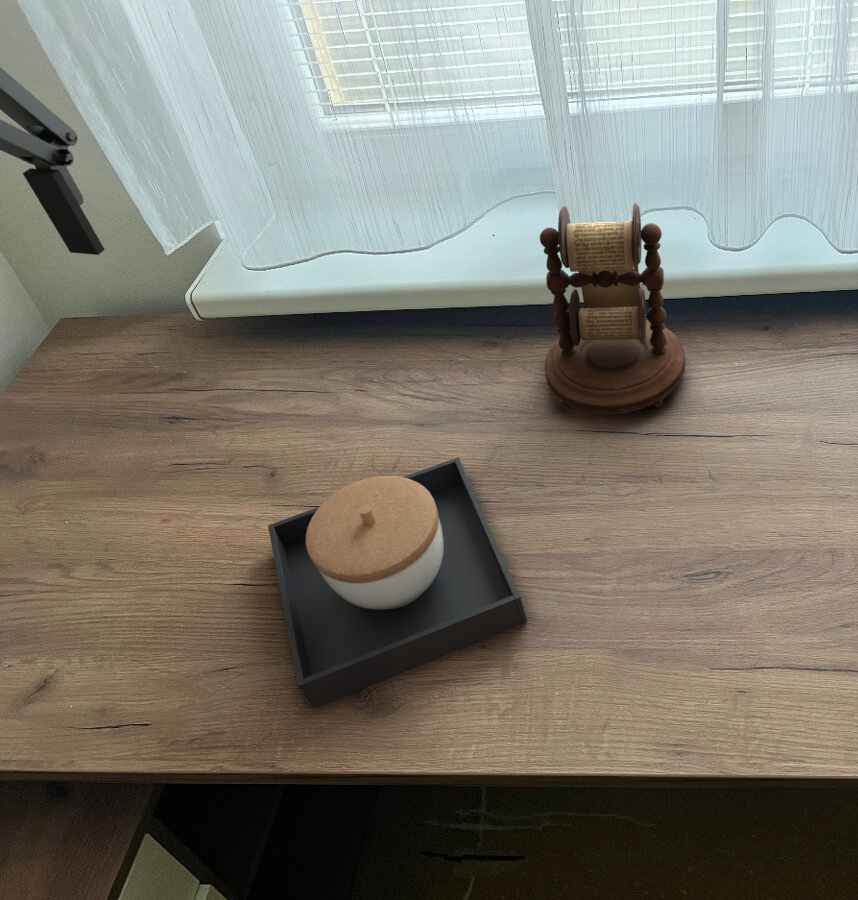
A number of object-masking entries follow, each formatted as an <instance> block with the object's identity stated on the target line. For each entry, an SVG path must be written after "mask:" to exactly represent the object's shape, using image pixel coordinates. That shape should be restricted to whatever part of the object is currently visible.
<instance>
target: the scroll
mask: <svg viewBox="0 0 858 900" xmlns="http://www.w3.org/2000/svg"><path fill="white" fill-rule="evenodd" d="M631 214H632V215H631V216H632V217H631V220H623V221H622V220H621V221H600V222H599V221H597V222H596V221H595V222H577V223H576V222H575V223H573V222H572V223H571V218H570V217H571V216H570V213H569V210H568V207H567V206H565V205H563V206H562V208H560V210H559V213H558V219H557V221H558V222H557V229H556V228H554V227H546V228H544V229H543V230H542V231H541V232H540V234H539V242H540V244H541V246H542V247H543V253H544V254H545V255H547V256H546V269H547V271H548V272H547V273H546V278H545V279H546V280H545V281H546V288H547V289H548V290H549V291H550V292H551V294H552V295H553V303H552V306H553V309H554V310H555V312H554V313H553V316H552V317H553V318H552V319H553V323H554V325H556V327H557V328H556V331H557V333H558V334H560V335H559V338H558V339H557V340H556V341H555V342H554V343H553V345H552V346H551V347H550V349H549V350H548V352H547V355H546V357H545V360H544V373H545V379H546V383H547V385H548V387H549V390H550V391H551V392H552V394H553V395H554V396H555V397H556V398H557V399H558V400H560V402H561V404H562V406H563V407H564V408H565V409H570V408H573V409H576V410H579V411H583V412H588V413H592V414H601V415H614V414H623V413H625V414H626V413H629V412H634V411H638V410H642V409H644V408H645V409H646V408H647V407H650V406H652V405H654V406H655V407H656V408H660V407H662V405H663V402H664V398H666V397H667V396H668V395H669V394H671V393H672V392H673V391H674V390H675V389H676V388H677V387H678V385H679V384H680V382H681V381H682V379H683V377H684V374H685V370H686V352H685V349H684V346H683V343H682V342H681V340H680V339H679V337H678V336H677V335H676V334H675V333H674V332H673V331H672V330H670V329H669V328H667V327H666V324H665V321H666V319H667V312H666V311H667V310H665V308H663V306H664V298H663V295H662V293H661V291H662V290H663V286H664V285H665V273H664V268H663V267H662V266H661V265H662V259H661V256H660V253H659V251H658V250H659V249H660V248H661V243H660V240H661V238H662V234H663V233H662V229H661V227H660V226H659V225H658V224H656V223H653V222H649V223H647V224H645V225H643V226H642V218H641V210H640V206H639V204H638V203H637V202H634V203H633V205H632V213H631ZM642 243H643V244H642ZM642 245H643V246H642ZM642 247H643V250H645V251H646V254H645V259H644V264H645V266H646V267H645V269H644V270H643V271H642V272H641V273H640V271H639V265H640V264H641V261H642ZM563 267H564V268H565V269H569V271H570V272H571V273H572V274H571V275H569V274H568V273H566V271H565V270H563ZM641 283H642V285H643V286H645V287H646V289H647V291H648V292H649V296H648V299H647V303H646V294H645V289H644V288H643V287H642V286H641ZM569 286H571V287H573V288H575V289H573V290H572V291H571V293H570V295H569V296H570V298H569V301H568V299H567V297H566V296H565V294H566V292H567V289H568V288H569ZM577 288H581V295H582V301H583V307H582V306H581V305H582V304H581V299H580V298H581V297H580V294H579V291H578V289H577ZM647 304H648V306H649V309H648V311H647ZM568 308H569V309H568Z"/></svg>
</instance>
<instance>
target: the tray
mask: <svg viewBox="0 0 858 900" xmlns="http://www.w3.org/2000/svg"><path fill="white" fill-rule="evenodd" d="M403 477H404V478H408V479H411V480H413V481H415V482H418V483H419V484H421V485H422V486H424V487H425V488H426V489H427V490H428V491H429V492H430V494H431V495H432V497H433V499H434V501H435V504H436V507H437V510H438V517H439V520H440V523H441V527H442V533H443V541H444V551H443V558H442V562H441V566H440V569H439V571H438V573H437V575H436V577H435V579H434V580H433V582H432V583H431V585H430V586H429V587H428V588H427V589H426V590H425V591H424V592H423V593H422V594H421V595H420V596H419V597H418V598H417V599H416V600H414V601H413V602H411V603H409V604H407V605H405V606H402V607H399V608H394V609H384V610H373V609H367V608H362V607H359V606H356V605H354V604H352V603H350V602H348V601H346V600H345V599H343V598H342V597H341V596H340V595H338V594H337V593H336V592H335V591H334V590H333V589H332V588H331V587H330V586H329V584H328V583H327V582H326V581H325V579H324V578H323V576H322V575H321V573H320V572H319V570H318V569H317V567H316V566H315V565H314V563H313V562H312V560H311V558H310V556H309V554H308V552H307V548H306V532H307V528H308V525H309V523H310V521H311V518H312V517H313V515H314V514H315V512H316V511H317V510H318V508H319V507H320V506H318V507H314V508H313V509H312V508H311V509H309V510H306V511H304V512H301V513H299V514H295V515H293V516H290V517H287V518H284V519H281V520H279V521H276V522H273V523H270V524H267V528H268V534H269V538H270V543H271V549H272V554H273V560H274V566H275V571H276V576H277V581H278V588H279V593H280V598H281V604H282V609H283V613H284V619H285V624H286V630H287V635H288V640H289V646H290V651H291V657H292V663H293V667H294V673H295V678H296V684H297V687H298V689H299V691H300V692H301V693H302V695H303V697H304V698H305V700H306V701H307V702H308V704H309V705H310V707H311V708H312V709H315V708H318V707H320V706H323V705H325V704H328V703H330V702H332V701H335V700H338V699H340V698H343V697H345V696H347V695H350V694H353V693H355V692H357V691H360V690H362V689H364V688H367V687H369V686H373V685H374V684H377V683H380V682H382V681H385V680H387V679H389V678H392V677H394V676H397V675H399V674H401V673H404V672H406V671H409V670H411V669H414V668H417V667H418V666H421V665H423V664H426V663H429V662H431V661H434V660H436V659H438V658H441V657H443V656H446V655H449V654H451V653H453V652H455V651H458V650H461V649H463V648H465V647H467V646H470V645H472V644H475V643H478V642H480V641H483V640H485V639H488V638H490V637H492V636H496V635H498V634H500V633H502V632H505V631H507V630H510V629H512V628H514V627H517V626H519V625H522V624H524V623H527V622H528V620H527V619H528V618H527V616H526V612H525V608H524V605H523V601H522V598H521V595H520V593H519V590H518V588H517V586H516V583H515V581H514V580H513V579H514V578H513V577H512V575H511V572H510V570H509V568H508V566H507V563H506V561H505V559H504V557H503V554H502V552H501V550H500V547H499V545H498V543H497V540H496V539H495V537H494V534H493V532H492V529H491V527H490V525H489V523H488V520H487V518H486V516H485V513H484V512H483V509H482V506H481V504H480V503H479V500H478V498H477V495H476V493H475V490H474V488H473V486H472V485H471V482H470V480H469V477H468V475H467V473H466V470H465V468H464V466H463V464H462V461H461V460H460V457H459V456H458V457H454V458H453V459H452V458H451V459H448V460H446V461H444V462H440V463H438V464H435V465H433V466H429V467H427V468H424V469H420V470H418V471H415V472H412V473H410V474H407V475H404V476H403Z"/></svg>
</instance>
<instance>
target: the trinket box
mask: <svg viewBox="0 0 858 900" xmlns="http://www.w3.org/2000/svg"><path fill="white" fill-rule="evenodd" d="M318 507H319V508H318ZM318 507H317V508H318V510H317V511H316V512H315V514H314V515H313V517H312V518H311V521H310V523H309V525H308V528H307V532H306V548H307V552H308V554H309V556H310V558H311V560H312V562H313V563H314V565H315V566H316V567H317V569H318V570H319V572H320V573H321V575H322V576H323V578H324V579H325V581H326V582H327V583H328V584H329V586H330V587H331V588H332V589H333V590H334V591H335V592H336V593H337V594H338V595H340V596H341V597H342V598H343V599H345V600H346V601H348V602H350V603H352V604H354V605H356V606H359V607H362V608H367V609H373V610H384V609H394V608H399V607H402V606H405V605H407V604H409V603H411V602H413V601H414V600H416V599H417V598H418V597H419V596H420V595H421V594H422V593H423V592H424V591H425V590H426V589H427V588H428V587H429V586H430V585H431V583H432V582H433V580H434V579H435V577H436V575H437V573H438V571H439V569H440V566H441V562H442V558H443V551H444V541H443V533H442V527H441V523H440V520H439V517H438V510H437V507H436V504H435V501H434V499H433V497H432V495H431V494H430V492H429V491H428V490H427V489H426V488H425V487H424V486H422V485H421V484H419V483H418V482H415V481H413V480H411V479H408V478H404V476H397V475H379V476H378V475H377V476H371V477H367V478H363V479H361V480H356V481H354V482H352V483H350V484H348V485H346V486H344V487H342V488H341V489H339V490H337V491H336V492H334V493H333V494H332V495H330V496H329V497H328V498H327V499H326V500H325V501H324V502H323V503H321V504H320V506H318Z"/></svg>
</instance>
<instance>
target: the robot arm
mask: <svg viewBox="0 0 858 900" xmlns="http://www.w3.org/2000/svg"><path fill="white" fill-rule="evenodd" d="M0 111H1V112H3V113H4V114H5V115H7V117H9V118H10V119H11V120H12V121H13V122H15V123H16V124H17V125H18V126H20V127H21V128H22V129H21V128H19V127H17V126H14V125H13V124H11V123H9V122H7V121H5V120H3V119H1V118H0V151H1V152H3V153H6V154H7V155H10V156H11V157H14V158H17V159H18V160H20V161H23V162H25V163H27V164H29V165H32V166H33V165H34V167H33V168H32V167H31V168H28V169H27V170H25V171H24V172H22V175H23V176H24V179H25V180H26V182H27V183H28V185H29V186H30V189H31V190H32V192H33V194H34V195H35V196H36V198H37V200H38V202H39V203H40V205H41V207H42V208H43V210H44V211H45V213H46V215H47V216H48V218H49V220H50V221H51V223H52V225H53V226H54V228H55V229H56V231H57V233H58V235H59V236H60V238H61V239H62V241H63V243H64V245H65V246H66V248H67V250H68V251H69V253H71V254H81V255H95V256H99V255H100V254H102V253H103V252H104V251H105V247H104V245H103V243H102V242H101V240H100V239H99V237H98V235H97V233H96V232H95V230H94V228H93V226H92V224H91V222H90V221H89V219H88V217H87V215H86V214H85V212H84V211H83V208H82V207H81V205H83V204H84V203H85V202H84V198H83V194H82V192H81V190H80V188H78V185H77V184H76V182H75V179H74V178H73V176H72V175H71V172H70V170H69V169H68V167H70V166H72V165H73V163H74V155H73V153H72V152H71V150H70V149H69V147H74V146H76V144H77V143H78V140H79V139H78V134H77V132H76V130H74V129H73V128H72V127H71V126H70V125H69V124H68V123H67V122H65V121H64V120H63V119H62V118H61V117H59V116H58V115H57V114H56V113H55V112H53V110H51V109H50V108H49V107H48V106H46V104H44V103H43V102H42V101H41V100H40V99H39V98H37V97H36V96H35V95H34V94H33V93H31V92H30V91H29V90H28V89H27V88H25V87H24V86H23V85H22V84H21V83H20V82H18V81H17V79H15V78H14V77H13V76H12V75H11V74H9V73H8V72H7V71H6V70H5V69H4V68H2V67H1V66H0ZM23 129H24V130H23Z"/></svg>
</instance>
